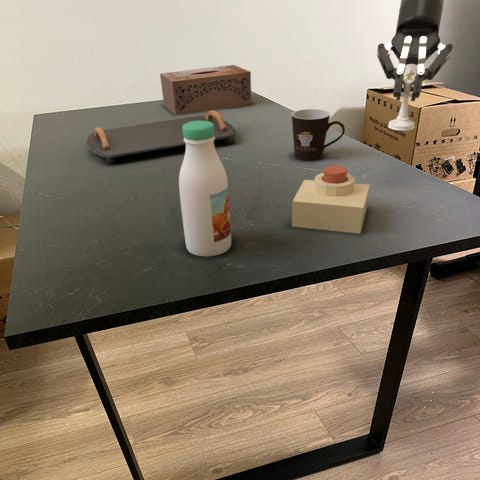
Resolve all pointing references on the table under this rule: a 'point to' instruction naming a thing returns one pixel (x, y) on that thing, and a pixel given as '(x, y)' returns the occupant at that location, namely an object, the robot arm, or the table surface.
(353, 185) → the button base
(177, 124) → the serving tray
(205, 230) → the milk bottle
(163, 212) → the table surface
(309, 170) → the table surface
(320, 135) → the coffee mug
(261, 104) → the table surface
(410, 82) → the chess piece
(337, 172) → the lid button
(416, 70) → the robot arm
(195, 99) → the tissue box cover
